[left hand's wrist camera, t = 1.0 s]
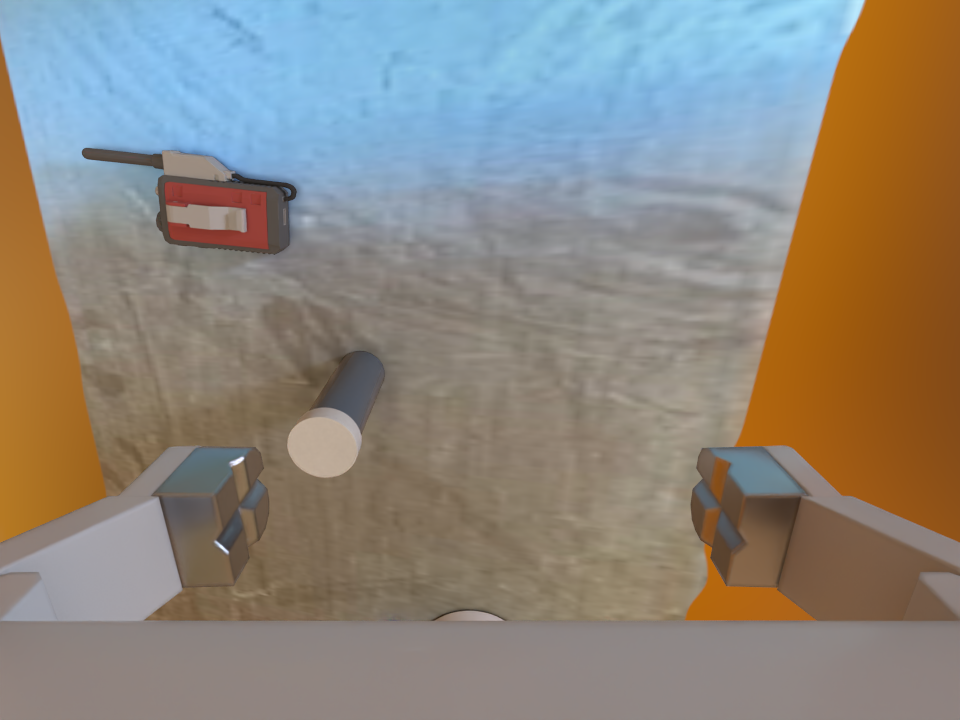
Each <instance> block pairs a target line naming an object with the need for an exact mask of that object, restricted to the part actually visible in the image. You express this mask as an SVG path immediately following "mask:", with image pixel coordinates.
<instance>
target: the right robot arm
mask: <svg viewBox="0 0 960 720" xmlns="http://www.w3.org/2000/svg"><path fill="white" fill-rule="evenodd" d="M435 621H504V620H503V619H501V618H499V617H497V616H494V615H492V614H489V613H485V612H480V611H459V612H454V613H450V614H447V615H444V616H442V617H440V618H438V619H436V620H435Z"/></svg>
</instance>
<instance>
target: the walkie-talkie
mask: <svg viewBox="0 0 960 720" xmlns="http://www.w3.org/2000/svg"><path fill="white" fill-rule="evenodd" d="M82 155H83V156H84V158H86V159H90V160H100V161H109V162H119V163H128V164H138V165H147V166H153V167H155V168H158V169H164V175H162V176H161V177H160V178H158V187H156V189H155V192H156V194H157V195H159V204H160V212H159V213H158V214H157V218H156V224H157V227H158V228H159V230H160V231H161V232H163V236H164V238H165V241H167V242H168V243H169V244H176V245H181V246H195V247H200V248H218V249H221V248H223V249H225V250H226V249H229V250H235V251H237V250H240V251H246V252H249V251H251V252H257V253H260V252H262V253H263V254H265V253H268V254H274V255H275V254H277V253H279V252H280V251H282V250H284V249H285V248H286V247H287V246H288V245H289V226H288V201H290V200H293V199H294V198H295V197H296V193H297V191H296V189H295V187H294V186H293V185H291V184H288V183H283V182H273V181H264V180H255V179H248V178H244V177H242V176H240V175H239V174H236V173H235V171H229V170H228V169H227V168H226V167H225V166H223V165H222V164H221V163H220V162H219V161H218V160H216V159H215V158H214V157H212V156H203V155H195V154H186V153H181V152H180V151H173V150H164V151H162V154H153V155H147V154H138V153H129V152H120V151H111V150H102V149H92V148H84V149H83V150H82ZM234 178H236V179H238V180H239V182H238V181H232V180H234ZM283 187H286V188H288V189H290V190H291V196H289V197H288V192H287V191H286V190H285V189H284V188H283Z"/></svg>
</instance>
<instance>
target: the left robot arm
mask: <svg viewBox="0 0 960 720" xmlns="http://www.w3.org/2000/svg"><path fill="white" fill-rule="evenodd" d="M263 469H264V467H263V462H262V458H261V453H260V452H259V451H258V449H257V448H256V447H216V446H202V447H201V446H175V447H169V448H168V449H167V450H165V451H164V452H163V453H162V454H161V455H160V456H159V457H158V458H157V459H156V460H155V461H154V462H153V463H152V464H151V465H150V466H149V467H148V468H147V469H146V470H145V471H144V472H143V473H141V474H140V475H139V476H138V477H137V478H136V479H135V480H134V481H133V482H132V483H131V484H130V485H129V486H128V487H127V488H126V489H125V490H124V491H123V492H122V493H121V494H120V495H119V496H108V497H106V498H103V499H101V500H99V501H96V502H94V503H92V504H89V505H87V506H85V507H82V508H80V509H78V510H75V511H73V512H71V513H69V514H66V515H64V516H61V517H59V518H57V519H55V520H52V521H50V522H47V523H45V524H43V525H40V526H38V527H36V528H33V529H31V530H29V531H26V532H24V533H22V534H19V535H17V536H15V537H13V538H10V539H8V540H5V541H3V542H1V543H0V720H960V543H959V542H957V541H954V540H952V539H950V538H947V537H945V536H943V535H940V534H938V533H936V532H933V531H931V530H929V529H926V528H924V527H922V526H919V525H917V524H915V523H912V522H910V521H908V520H905V519H903V518H901V517H898V516H896V515H894V514H891V513H889V512H887V511H884V510H882V509H880V508H878V507H875V506H873V505H871V504H868V503H866V502H864V501H861V500H859V499H857V498H854V497H852V496H841V495H840V494H839V493H838V492H837V491H836V490H835V489H834V488H833V487H832V486H831V485H830V484H829V483H828V482H827V481H826V480H825V479H824V478H823V477H822V476H821V475H820V474H819V473H818V472H817V471H815V470H814V469H813V468H812V467H811V466H810V465H809V464H808V463H807V462H806V461H805V460H804V459H803V458H802V457H801V456H800V455H799V454H798V453H797V452H796V451H795V450H794V449H793V448H790V447H787V446H759V447H718V448H702V450H701V452H700V454H699V456H698V462H697V467H696V469H697V470H698V472H699V473H700V475H701V476H702V478H703V479H702V480H701V481H700V482H699V483H698V484H697V485H696V486H695V487H694V488H693V490H692V498H691V514H692V521H693V524H694V528H695V531H696V532H697V534H698V536H699V538H700V540H701V541H703V542H704V543H706V544H707V545H709V546H710V547H712V552H711V560H712V561H713V563H714V565H715V567H716V568H717V570H718V572H719V574H720V575H721V577H722V579H723V581H724V583H725V584H726V586H742V587H778V588H777V590H778V591H780V592H781V593H782V594H783V595H785V596H786V597H787V598H789V599H790V600H791V601H792V602H794V603H795V604H796V605H798V606H799V607H800V608H802V609H803V610H804V611H805V612H807V613H808V614H809V615H811V616H812V617H813V618H815V619H816V620H817V621H143V620H144V619H146V618H147V617H148V616H150V615H151V614H152V613H153V612H155V611H156V610H157V609H159V608H160V607H161V606H163V605H164V604H165V603H166V602H168V601H169V600H170V599H172V598H173V597H174V596H176V595H177V594H178V593H179V592H181V591H182V590H183V589H182V587H217V586H234V584H235V583H236V581H237V579H238V577H239V576H240V574H241V572H242V570H243V569H244V567H245V565H246V563H247V561H248V560H249V552H248V547H250V546H251V545H253V544H254V543H256V542H257V541H259V540H260V538H261V536H262V534H263V532H264V530H265V528H266V524H267V520H268V515H269V497H268V490H267V488H266V487H265V486H264V485H263V484H262V483H261V482H260V481H259V480H258V479H257V478H258V476H259V475H260V473H261V472H262V470H263Z"/></svg>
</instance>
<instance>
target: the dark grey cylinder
mask: <svg viewBox="0 0 960 720" xmlns="http://www.w3.org/2000/svg"><path fill="white" fill-rule="evenodd" d="M384 377H385V372H384V368H383V365H382V363H381V362H380V361H379V359H378V358H376V357H375V356H374V355H372V354H370V353H368V352H363V351H356V352H352V353H349V354H348V355H346V356H345V357H344V358H343V359H342V360H341V362H340V363H339V365H338V366H337V368H336V369H335V371H334V373H333V374H332V376H331V377H330V379H329V380H328V382H327V383H326V385H325V387H324V388H323V390H322V391H321V393H320V394H319V396H318V397H317V399H316V401H315V402H314V404H313V405H312V407H311V408H310V410H313V409H316V408H333V409H337V410H339V411H342V412H344V413H345V414H347V415H348V416H349V417H351V418H352V419H353V420H354V422H355V423H356V424H357V426H358V428H359V430H360V433H361V435H362V432H363V430H364V427H365V425H366V422H367V420H368V418H369V415H370V413H371V410H372V408H373V405H374V403H375V400H376V398H377V396H378V393H379V391H380V388H381V386H382V383H383V381H384ZM310 410H309V411H310Z"/></svg>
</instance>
